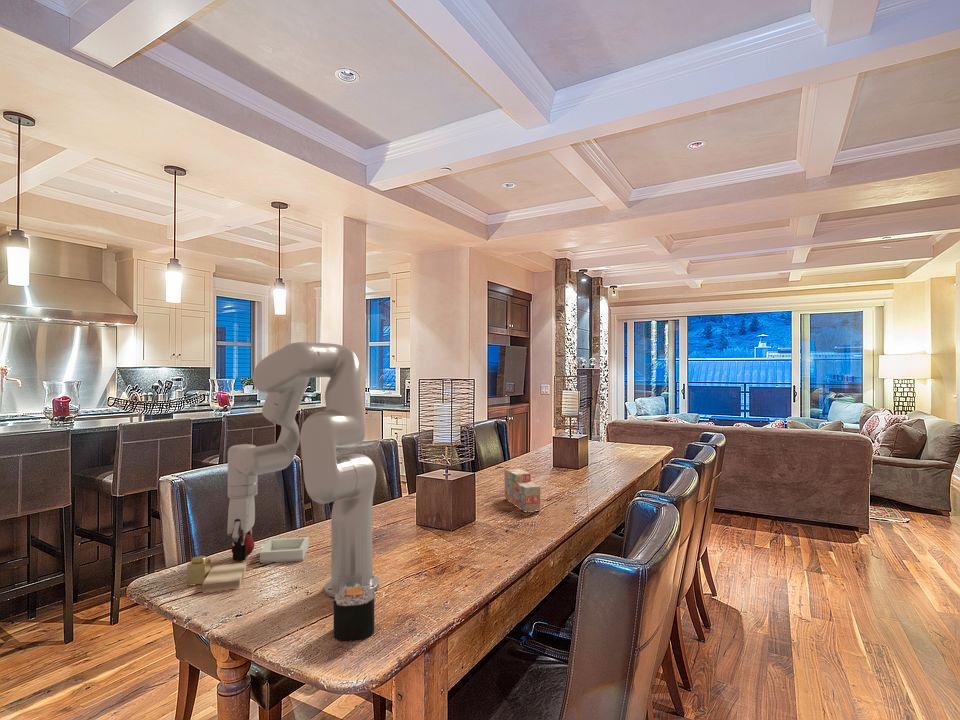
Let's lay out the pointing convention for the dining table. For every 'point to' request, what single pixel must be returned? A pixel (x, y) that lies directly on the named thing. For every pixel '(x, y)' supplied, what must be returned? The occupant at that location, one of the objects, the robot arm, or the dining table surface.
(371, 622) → the sushi
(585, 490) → the dining table surface
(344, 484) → the robot arm
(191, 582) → the bench dog
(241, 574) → the maple board
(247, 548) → the onion
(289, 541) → the ceramic dish
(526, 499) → the stack of blocks
